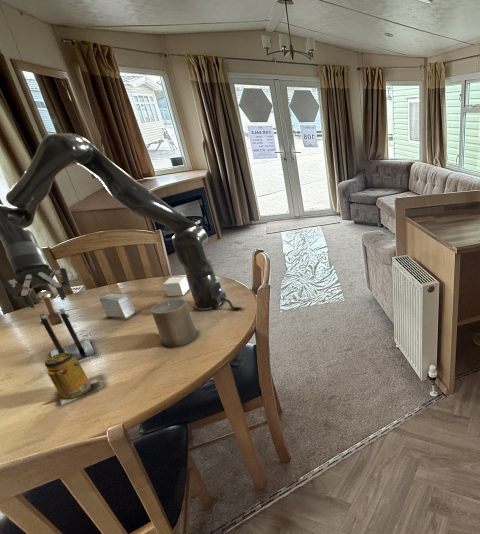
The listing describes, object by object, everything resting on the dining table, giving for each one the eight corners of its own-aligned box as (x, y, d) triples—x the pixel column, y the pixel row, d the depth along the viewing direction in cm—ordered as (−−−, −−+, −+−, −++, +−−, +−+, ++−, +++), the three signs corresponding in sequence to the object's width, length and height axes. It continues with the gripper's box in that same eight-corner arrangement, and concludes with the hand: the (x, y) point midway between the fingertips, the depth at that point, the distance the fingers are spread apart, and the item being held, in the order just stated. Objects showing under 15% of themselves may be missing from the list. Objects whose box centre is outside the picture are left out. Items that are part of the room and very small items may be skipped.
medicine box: (137, 314, 132) (129, 294, 128) (126, 320, 128) (118, 300, 124) (118, 312, 132) (110, 293, 129) (107, 318, 128) (98, 298, 125)
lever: (37, 298, 108) (33, 290, 106) (53, 294, 110) (49, 286, 108) (49, 328, 103) (45, 320, 100) (66, 323, 105) (62, 315, 103)
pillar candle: (202, 335, 120) (191, 299, 114) (172, 351, 112) (158, 312, 106) (187, 327, 124) (175, 292, 118) (157, 341, 116) (142, 304, 110)
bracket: (51, 354, 109) (28, 312, 103) (89, 341, 116) (70, 301, 109) (56, 371, 102) (31, 327, 96) (96, 356, 109) (76, 315, 102)
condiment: (58, 392, 95) (39, 358, 90) (99, 376, 101) (82, 343, 96) (61, 405, 91) (41, 371, 86) (103, 388, 97) (86, 354, 92)
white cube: (189, 288, 151) (185, 276, 149) (183, 295, 146) (179, 282, 144) (173, 289, 150) (169, 277, 148) (167, 296, 145) (163, 283, 142)
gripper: (-12, 259, 101) (9, 307, 99) (56, 247, 111) (77, 290, 110) (-4, 270, 106) (17, 316, 105) (61, 257, 117) (81, 299, 115)
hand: (48, 302), depth 107 cm, fingers open, 6 cm apart
